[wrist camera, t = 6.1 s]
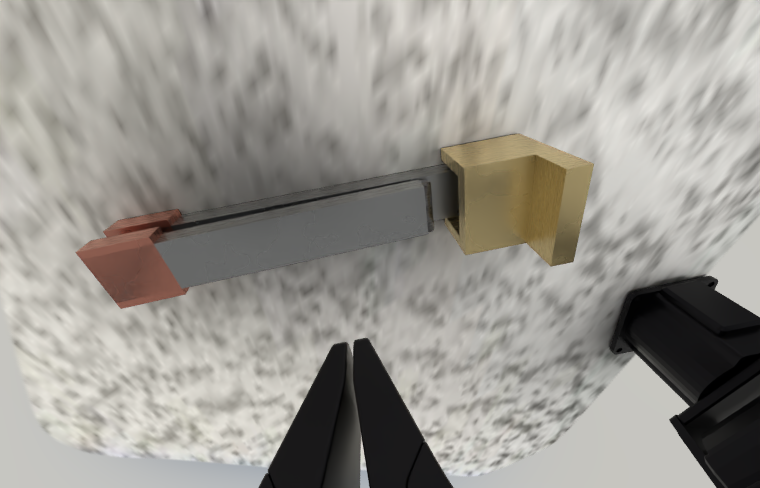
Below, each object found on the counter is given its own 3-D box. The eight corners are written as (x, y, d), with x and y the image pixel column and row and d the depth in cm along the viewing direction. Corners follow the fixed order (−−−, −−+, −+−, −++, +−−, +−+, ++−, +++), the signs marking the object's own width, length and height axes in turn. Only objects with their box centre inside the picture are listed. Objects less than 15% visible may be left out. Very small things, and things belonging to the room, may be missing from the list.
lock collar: (518, 133, 16) (593, 164, 11) (513, 210, 18) (573, 261, 13) (440, 148, 15) (484, 185, 11) (444, 223, 18) (482, 280, 13)
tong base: (515, 143, 16) (528, 149, 15) (511, 200, 18) (522, 208, 17) (118, 220, 16) (103, 231, 15) (152, 271, 17) (141, 284, 16)
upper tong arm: (426, 170, 15) (433, 177, 14) (431, 228, 16) (437, 238, 16) (90, 240, 14) (75, 252, 13) (131, 295, 15) (120, 308, 15)
